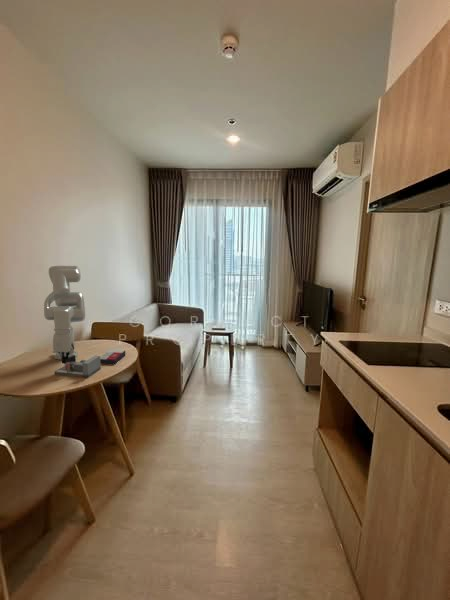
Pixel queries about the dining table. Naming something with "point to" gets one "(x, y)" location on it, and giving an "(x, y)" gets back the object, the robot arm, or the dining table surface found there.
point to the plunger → (72, 361)
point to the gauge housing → (82, 368)
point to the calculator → (112, 356)
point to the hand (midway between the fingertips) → (65, 362)
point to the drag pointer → (68, 366)
